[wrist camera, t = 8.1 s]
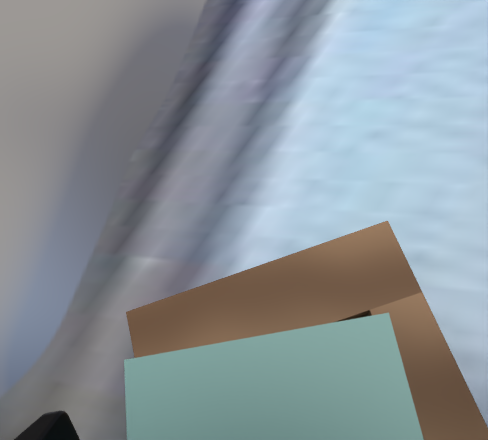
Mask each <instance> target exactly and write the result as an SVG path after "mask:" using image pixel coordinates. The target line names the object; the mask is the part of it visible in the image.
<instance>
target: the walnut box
mask: <svg viewBox="0 0 488 440" xmlns="http://www.w3.org/2000/svg"><path fill="white" fill-rule="evenodd" d="M384 313H389V315H390V319H391V323H392V326H393V330H394V334H395V337H396V341H397V344H398V348H399V352H400V355H401V359H402V363H403V366H404V370H405V374H406V377H407V381H408V384H409V388H410V392H411V395H412V399H413V403H414V406H415V410H416V414H417V417H418V421H419V424H420V428H421V432H422V435H423V439H424V440H488V428H487V425H486V423H485V421H484V419H483V417H482V415H481V413H480V411H479V409H478V407H477V405H476V403H475V401H474V399H473V396H472V394H471V392H470V390H469V388H468V386H467V384H466V382H465V380H464V378H463V376H462V374H461V372H460V370H459V367H458V365H457V363H456V361H455V359H454V357H453V355H452V353H451V351H450V349H449V347H448V345H447V343H446V340H445V338H444V336H443V334H442V332H441V330H440V328H439V326H438V324H437V322H436V320H435V318H434V316H433V314H432V311H431V309H430V307H429V305H428V303H427V301H426V299H425V297H424V295H423V293H422V291H421V289H420V287H419V285H418V282H417V280H416V278H415V276H414V274H413V272H412V270H411V268H410V266H409V264H408V262H407V260H406V258H405V255H404V253H403V251H402V249H401V247H400V245H399V243H398V241H397V239H396V237H395V235H394V233H393V231H392V229H391V226H390V224H389V222H388V221H385V222H383V223H380V224H377V225H374V226H371V227H368V228H365V229H362V230H360V231H357V232H354V233H351V234H348V235H345V236H342V237H340V238H337V239H334V240H331V241H328V242H325V243H322V244H320V245H317V246H314V247H311V248H308V249H305V250H302V251H299V252H297V253H294V254H291V255H288V256H285V257H282V258H279V259H277V260H274V261H271V262H268V263H265V264H262V265H259V266H257V267H254V268H251V269H248V270H245V271H242V272H239V273H236V274H234V275H231V276H228V277H225V278H222V279H219V280H216V281H214V282H211V283H208V284H205V285H202V286H199V287H196V288H194V289H191V290H188V291H185V292H182V293H179V294H176V295H174V296H171V297H168V298H165V299H162V300H159V301H156V302H153V303H151V304H148V305H145V306H142V307H139V308H136V309H133V310H131V311H128V312H126V314H127V319H128V325H129V330H130V335H131V341H132V346H133V351H134V357H135V358H138V357H143V356H149V355H155V354H160V353H166V352H171V351H177V350H183V349H188V348H194V347H199V346H205V345H211V344H216V343H222V342H227V341H233V340H238V339H244V338H250V337H255V336H261V335H266V334H272V333H278V332H283V331H289V330H294V329H300V328H306V327H311V326H317V325H322V324H328V323H334V322H339V321H345V320H350V319H356V318H362V317H367V316H373V315H378V314H384Z"/></svg>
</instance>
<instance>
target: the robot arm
mask: <svg viewBox="0 0 488 440" xmlns="http://www.w3.org/2000/svg"><path fill="white" fill-rule="evenodd" d="M14 440H80V439H79V437H78V435H77V433H76V430H75V428H74V426H73V424H72V422H71V420H70V418H69V416H68V414H67V413H66V412H64V411H55V412H49V413H45V414H43V415H42V416H41V417H40V418H38V419H37V420H36V421H35V422H34V423H33V424H31V425H30V426H29V427H28V428H27V429H26V430H25V431H23V432H22V433H21V434H20V435H19V436H18V437H16V438H15V439H14Z"/></svg>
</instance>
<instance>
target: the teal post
mask: <svg viewBox="0 0 488 440" xmlns="http://www.w3.org/2000/svg"><path fill="white" fill-rule="evenodd" d="M124 369H125V397H126V425H127V440H424V439H423V435H422V432H421V428H420V424H419V421H418V417H417V414H416V410H415V406H414V403H413V399H412V395H411V392H410V388H409V384H408V381H407V377H406V374H405V370H404V366H403V363H402V359H401V355H400V352H399V348H398V344H397V341H396V337H395V334H394V330H393V326H392V323H391V319H390V315H389V313H384V314H378V315H373V316H367V317H362V318H356V319H350V320H345V321H339V322H334V323H328V324H322V325H317V326H311V327H306V328H300V329H294V330H289V331H283V332H278V333H272V334H266V335H261V336H255V337H250V338H244V339H238V340H233V341H227V342H222V343H216V344H211V345H205V346H199V347H194V348H188V349H183V350H177V351H171V352H166V353H160V354H155V355H149V356H143V357H138V358H132V359H127V360H124Z"/></svg>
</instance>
